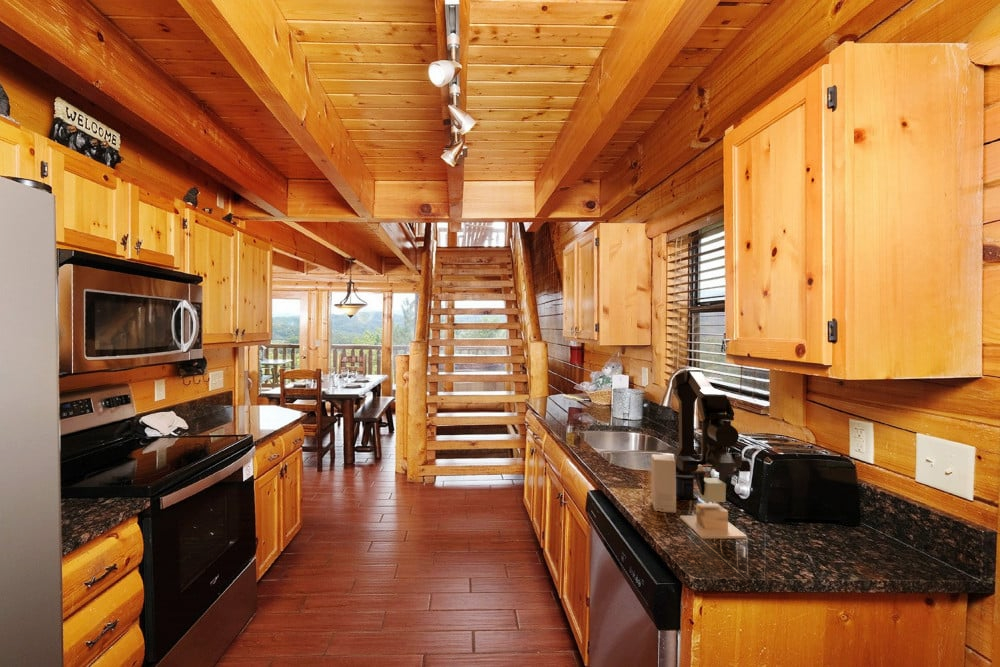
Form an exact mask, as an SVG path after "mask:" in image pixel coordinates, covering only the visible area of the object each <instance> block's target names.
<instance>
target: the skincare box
mask: <svg viewBox="0 0 1000 667" xmlns="http://www.w3.org/2000/svg"><path fill="white" fill-rule="evenodd" d="M650 457H651V459H650V460H651V462H650V464H651V466H650V467H651V468H650V469H651V504H652V507H653V510H654V512H657V511H660V513H669V514H671V513H674V514H675V513H677V497H676V466H675V459H674V456H673V455H672V454H655V453H654V454H651V455H650Z"/></svg>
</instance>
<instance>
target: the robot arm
mask: <svg viewBox="0 0 1000 667" xmlns="http://www.w3.org/2000/svg"><path fill="white" fill-rule="evenodd" d="M671 388H672V390H673V395H674V397H675V398H676V401H677V402H678V448H677V449H676V451H675V452H674V454H673V458H674V459H675V466H676V499H678V500H699V497H698V496H697V495H696V494H695V482H696V485H697V487H698V491H699V490H700V493H701V494H702V495H704V490H705V489H704V478H705V476H706V474H707V473H706V472H705V471H704V468H713V469H714V470H715V472H717V473H718V479H719V480H721V481H723V482H724V483H726V488H727V487H728V485H729V482H730V481H731V479H732V478H733V477H734V476H736V475H739V473H742V472H747V473H748V472H751V471H752V470H751V467H752V466H751V463H750V461H749V460H748V459H745V458H744V457H743V455H742V454H741V453H740V452H728V448H731V447H733V446H735V445H736V444H737V443H738V441H739V438H740V436H739V432H738V430H737V429H736V427H734V426H733V425H732V423H731V421H735V418H734V417H735V411H734V409H733V406H732V404H731V401H730V399H729V397H728V396H727V395H726V393H725V392H723V391H722V390H719V389H716V388H714V386H712V384H711V383H710V381H709V380H708V379H707V378H706V376H705V375H704V370H702V369H701V368H687V369H685V370H684V371H683V372H680V373H678V374H675V375H674V377H673V378H672V380H671ZM696 401H697V402H696ZM695 402H696V405H697V408H698V411H699V414H700V419H701V439H699V444H700V445H701V448H700V449H701V450H700V451H701V454H698V452H697V450H696V449H695ZM737 470H738V471H737Z"/></svg>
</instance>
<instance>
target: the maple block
mask: <svg viewBox="0 0 1000 667" xmlns="http://www.w3.org/2000/svg"><path fill="white" fill-rule="evenodd" d="M695 505H696V511H695V516H696V521H697V522H698V523H699V524H700V525H701V526H702V527H703V528H704V529H706V530H728V522H729V511H728V510H727V509H726V508H724V506H721V505H720V504H719V503H718V502H707V503H700V502H699V503H696V504H695Z"/></svg>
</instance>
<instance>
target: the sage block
mask: <svg viewBox="0 0 1000 667" xmlns="http://www.w3.org/2000/svg"><path fill="white" fill-rule="evenodd" d="M704 489H705V490H704V495H702V494H701V493H700V490H699V489H698V496H699V497H701V498H702V499H703V500H704V501H706V502H707V503H726V497H727V496H726V494H727V492H726V491H727V487H726V483H724V482H723V481H721V480H719V477H704Z"/></svg>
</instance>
